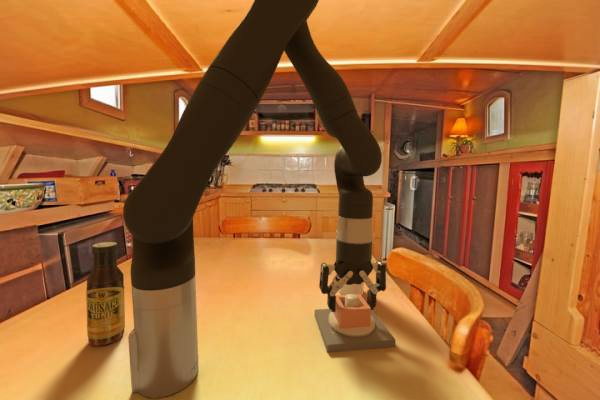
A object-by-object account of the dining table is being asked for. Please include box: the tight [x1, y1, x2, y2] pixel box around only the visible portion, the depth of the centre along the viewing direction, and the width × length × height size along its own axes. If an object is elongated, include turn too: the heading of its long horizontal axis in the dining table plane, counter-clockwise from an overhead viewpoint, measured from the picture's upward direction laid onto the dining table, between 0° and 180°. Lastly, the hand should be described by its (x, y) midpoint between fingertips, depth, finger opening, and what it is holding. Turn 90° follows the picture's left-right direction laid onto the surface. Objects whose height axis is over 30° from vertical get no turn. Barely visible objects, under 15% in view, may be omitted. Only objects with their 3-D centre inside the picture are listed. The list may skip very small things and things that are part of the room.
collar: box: [333, 294, 371, 328], centre depth 57 cm, size 6×6×4 cm
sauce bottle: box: [85, 241, 126, 347], centre depth 53 cm, size 7×6×20 cm
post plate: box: [314, 294, 396, 353], centre depth 58 cm, size 14×13×8 cm
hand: (351, 309), depth 57 cm, fingers open, 8 cm apart
